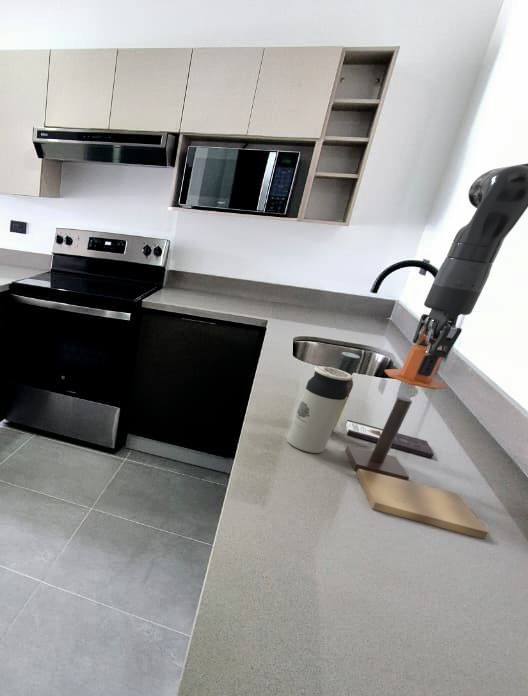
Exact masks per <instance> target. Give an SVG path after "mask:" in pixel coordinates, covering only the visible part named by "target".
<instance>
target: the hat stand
mask: <svg viewBox="0 0 528 696" xmlns="http://www.w3.org/2000/svg"><path fill="white" fill-rule="evenodd" d="M412 403H413V400H411V399H410V398H408V397H407V398H406V397H404V396H397V398H396V400H395V403H394V404H393V406H392V408H391V411H390V413H389V415H388V418H387V420H386V422H385V424H384V426H383V428H382V429H383V431H382V433H381V435H380V437H379V439H378V442H377V443H375V447H374V449H373V450H369V449H365V448H361V447H357V446H352V445H349V444H347V445H346V447H345V449H344V451H345V454H346V457H347V458H348V460H349V462H351V463H350V465H351V467H352V468H353V471H356V470H357V471H358V469H363V470H367V471H371V472H375V473H379V474H382V475H386V476H390V477H394V478H398V479H402V480H406V481H409V479H410V476H409V474H408V473H407V472H406V470H405V468H404V467H403V466H402V464H401V463H400V461H399V460H398V458H397V456H394V455H390V454H389V452H390V450H391V448H392V447H391V446H392V443H393V441H394V439H395V437H396V435H397V433H399V431H400V430H401V429H400V428H401V426H402V424H403V422H404V421H405V418H406V416H407V414H408V412H409V410H410V408H411V405H412ZM357 471H356V472H357Z"/></svg>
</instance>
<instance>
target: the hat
mask: <svg viewBox="0 0 528 696" xmlns="http://www.w3.org/2000/svg"><path fill="white" fill-rule="evenodd" d="M426 349H427V346H422V345H415V344H412V346H411V348H410V350H409V352H408V354H407V356H406V358H405V361H404V363H403V366H402V368H401V369H399V368H391V369H390V368H388V369H384V373H385V374H386V375H387V376H388V377H389V378H392V379H394V380H397V381H399V382H402V383H405V384H408V385H410V386H415V387H420V388H424V389H430V390H433V391H434V390H444V389H447V387H448V386H447V385H446V384H444V383H443V381H441V380H439V379H436V378H434V377H435V375H436V372H437V370H438V368H439V366H440V364H441V361H442V359H443V357H441V358H440V359H439V358H438V361H437V363H436V365H435V367H434V369H433V371H432V373H431V375H430V376H423V375H419V374H418V373H417V370H418V368H419V366H420V364H421V361H422V359H423V357H424V355H425V352H426ZM438 349H439V348H438ZM438 349H437V350H438Z"/></svg>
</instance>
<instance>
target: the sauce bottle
mask: <svg viewBox="0 0 528 696" xmlns="http://www.w3.org/2000/svg"><path fill="white" fill-rule="evenodd" d="M360 360H361V356H360V355H358V354H356V353H352V352H347V351H342V352H341V353H340V355H339V357H338V362H337V364H336V366H335V367H334V368H335V369H338V370H341V371H344V372H346V373H348V374H350V375H351V376H352V375H353V374H354V371H355V370H356V369H355V368H356V366H357V364H358V363H359V361H360ZM352 377H353V376H352ZM353 386H354V381H353V378H352V379H351V380H350V381H349V382H348V384H347V388H348V393H347V396H346V398H345V401H344V403H343V406H342V408H341V410H340V413H339V415H338V418H337V420H336V423H335V425H334V427H333V430H332V432H331V434H332V433H334V430H335V429H336V427H337V425H338V422H339V420H340V418H341V416H342V414H343V411H344V409H345V407H346V405H347V402H348V400H349V398H350V395H351V392H352V389H353V388H354V387H353Z"/></svg>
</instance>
